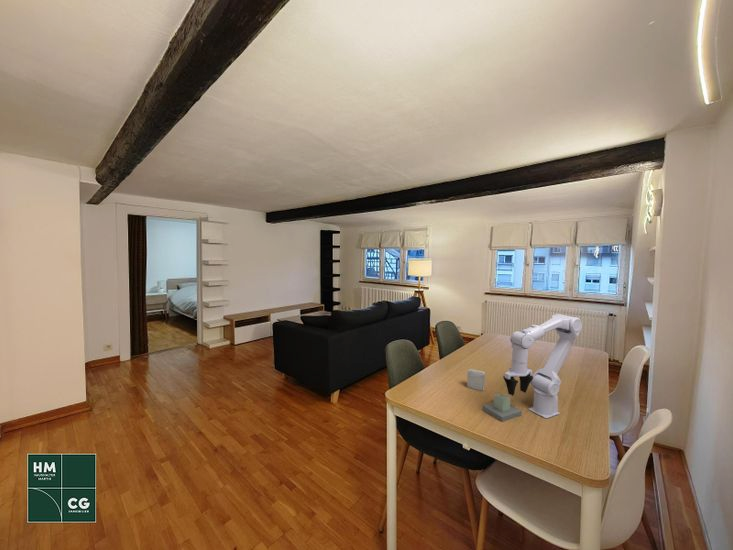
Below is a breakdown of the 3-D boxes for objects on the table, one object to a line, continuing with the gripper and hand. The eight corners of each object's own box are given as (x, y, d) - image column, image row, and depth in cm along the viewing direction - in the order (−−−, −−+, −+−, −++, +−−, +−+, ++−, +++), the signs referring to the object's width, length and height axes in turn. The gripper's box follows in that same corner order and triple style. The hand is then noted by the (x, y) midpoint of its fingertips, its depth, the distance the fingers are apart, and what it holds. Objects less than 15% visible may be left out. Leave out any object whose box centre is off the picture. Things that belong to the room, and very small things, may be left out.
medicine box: (484, 388, 146) (485, 371, 145) (483, 391, 142) (484, 374, 141) (468, 384, 150) (469, 368, 149) (466, 387, 146) (467, 371, 145)
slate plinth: (501, 404, 130) (501, 400, 130) (521, 415, 121) (521, 410, 121) (482, 409, 125) (482, 405, 124) (501, 421, 116) (502, 417, 115)
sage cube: (500, 404, 126) (501, 393, 125) (509, 409, 122) (510, 398, 121) (493, 406, 124) (494, 395, 123) (502, 411, 120) (503, 400, 119)
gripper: (522, 356, 125) (520, 386, 125) (499, 359, 118) (496, 391, 119) (537, 361, 118) (535, 393, 119) (514, 365, 112) (511, 399, 113)
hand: (517, 393), depth 119 cm, fingers open, 7 cm apart
